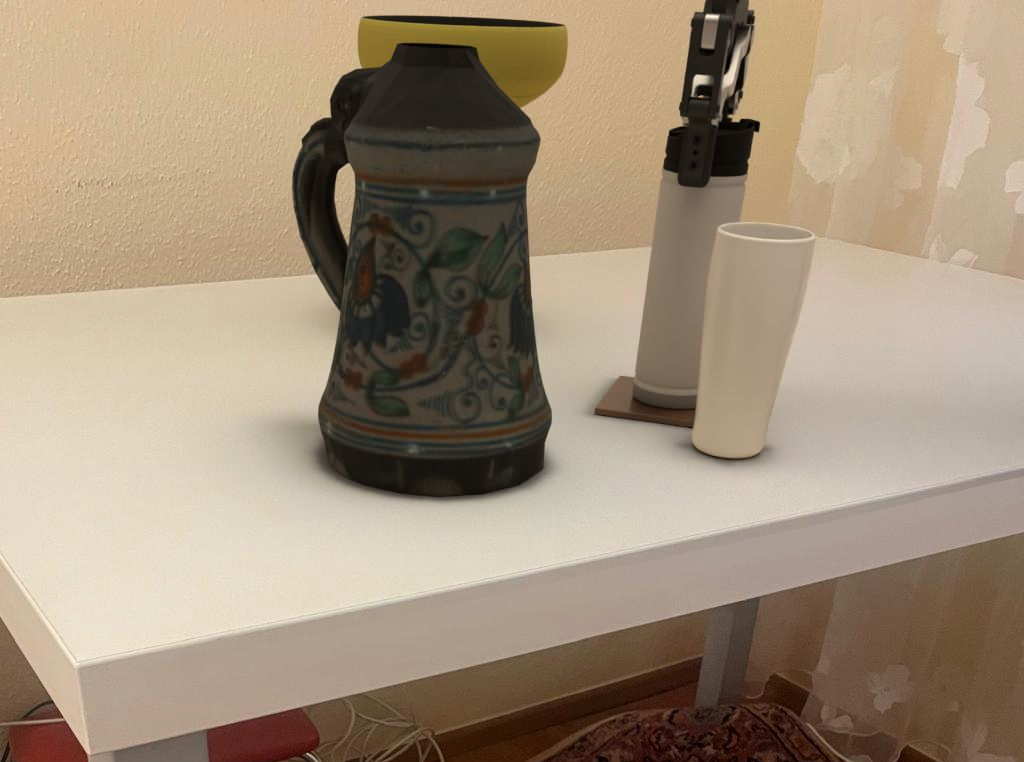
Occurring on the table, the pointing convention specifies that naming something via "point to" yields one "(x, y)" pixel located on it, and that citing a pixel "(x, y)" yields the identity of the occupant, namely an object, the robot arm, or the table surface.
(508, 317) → the beer stein
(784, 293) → the drinking glass
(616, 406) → the coaster
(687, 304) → the travel mug
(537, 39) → the cocktail glass
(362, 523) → the table surface
